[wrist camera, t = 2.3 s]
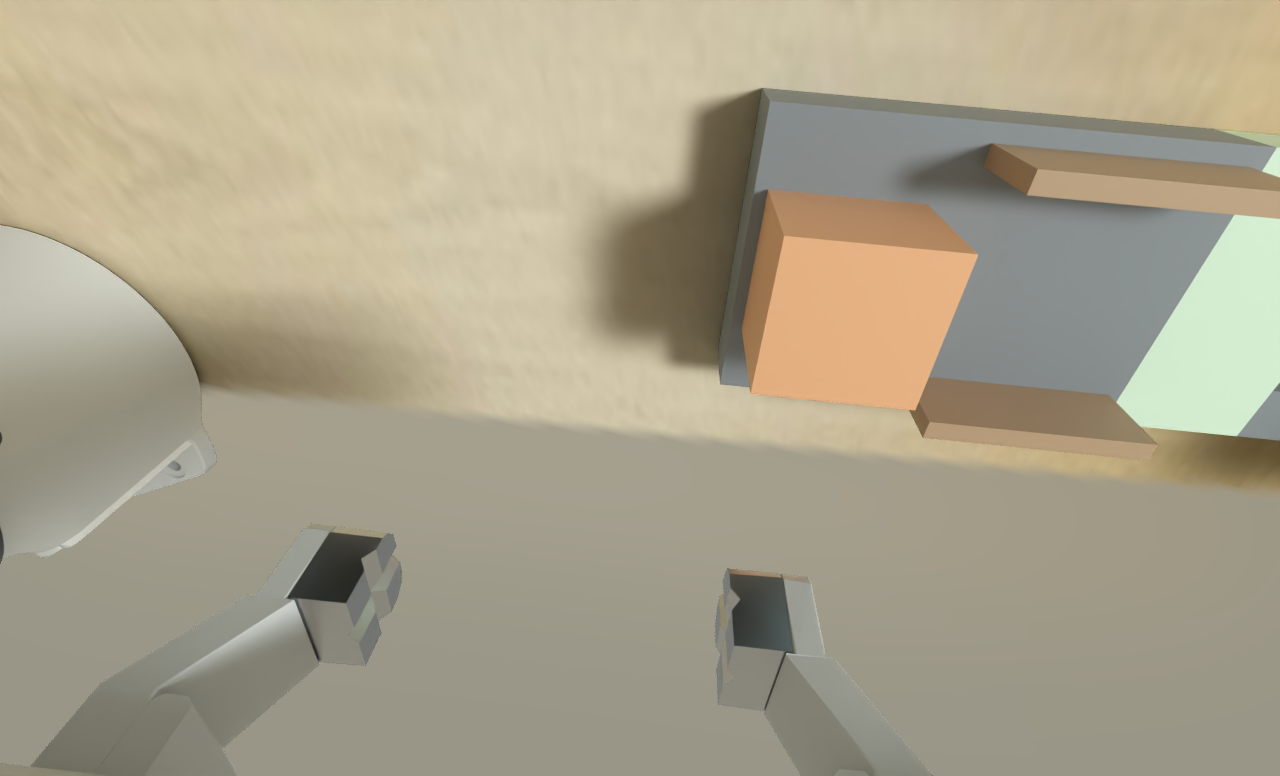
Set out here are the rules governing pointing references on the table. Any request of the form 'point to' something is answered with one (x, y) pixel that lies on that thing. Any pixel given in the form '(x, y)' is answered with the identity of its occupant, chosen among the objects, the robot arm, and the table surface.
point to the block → (850, 298)
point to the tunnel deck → (1058, 264)
